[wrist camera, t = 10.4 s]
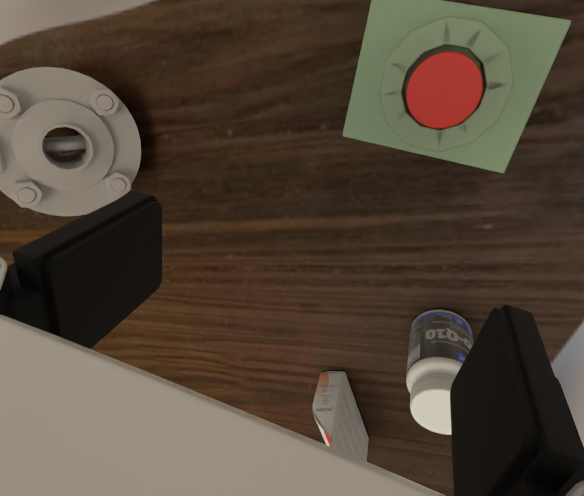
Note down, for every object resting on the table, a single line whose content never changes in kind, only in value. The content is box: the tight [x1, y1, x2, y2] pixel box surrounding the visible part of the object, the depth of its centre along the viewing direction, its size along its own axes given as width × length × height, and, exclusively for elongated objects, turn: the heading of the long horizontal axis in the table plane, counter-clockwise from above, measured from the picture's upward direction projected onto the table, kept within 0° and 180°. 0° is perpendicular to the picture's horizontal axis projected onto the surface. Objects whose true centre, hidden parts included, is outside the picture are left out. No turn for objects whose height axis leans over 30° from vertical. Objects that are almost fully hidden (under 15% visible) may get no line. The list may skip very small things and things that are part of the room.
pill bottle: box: [406, 309, 474, 435], centre depth 28 cm, size 5×5×8 cm
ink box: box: [313, 371, 369, 461], centre depth 34 cm, size 3×9×12 cm, turn 20°
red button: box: [406, 51, 483, 128], centre depth 20 cm, size 4×4×2 cm
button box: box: [342, 0, 571, 173], centre depth 22 cm, size 10×8×4 cm
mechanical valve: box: [0, 67, 141, 216], centre depth 33 cm, size 10×18×15 cm
